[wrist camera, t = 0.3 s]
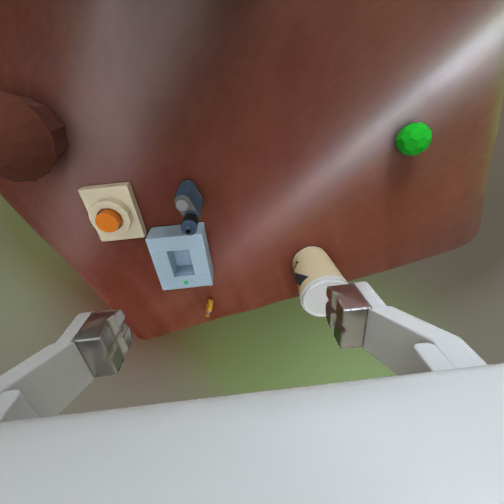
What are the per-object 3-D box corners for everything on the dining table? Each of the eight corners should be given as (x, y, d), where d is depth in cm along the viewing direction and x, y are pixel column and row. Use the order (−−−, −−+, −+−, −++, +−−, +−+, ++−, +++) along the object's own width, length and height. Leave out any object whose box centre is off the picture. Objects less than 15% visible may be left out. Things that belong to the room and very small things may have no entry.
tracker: (209, 295, 60) (208, 307, 57) (213, 295, 61) (212, 307, 57) (205, 307, 62) (204, 319, 59) (209, 307, 63) (208, 320, 59)
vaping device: (193, 207, 48) (185, 241, 38) (177, 182, 45) (163, 212, 36) (205, 201, 48) (200, 235, 38) (190, 176, 45) (180, 204, 35)
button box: (82, 186, 45) (72, 193, 42) (129, 181, 45) (123, 188, 42) (105, 236, 50) (97, 246, 47) (147, 232, 50) (142, 241, 47)
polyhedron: (395, 157, 46) (410, 165, 42) (386, 133, 44) (401, 138, 40) (423, 139, 45) (442, 146, 41) (415, 113, 42) (435, 117, 38)
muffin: (38, 180, 43) (-7, 204, 35) (-29, 112, 38) (-101, 122, 29) (95, 146, 41) (61, 164, 33) (33, 69, 35) (-26, 66, 27)
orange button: (95, 209, 44) (91, 214, 42) (117, 207, 44) (113, 212, 42) (104, 228, 46) (100, 233, 44) (124, 226, 46) (121, 231, 44)
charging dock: (151, 227, 50) (144, 240, 46) (203, 221, 50) (201, 234, 46) (167, 276, 56) (162, 291, 53) (213, 271, 57) (212, 285, 53)
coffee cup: (284, 249, 55) (297, 288, 45) (328, 237, 54) (351, 274, 44) (292, 282, 60) (305, 322, 50) (332, 271, 59) (354, 310, 49)
